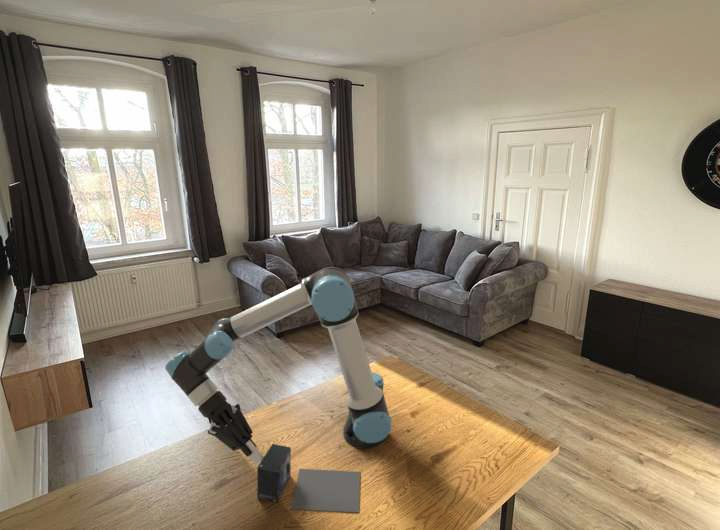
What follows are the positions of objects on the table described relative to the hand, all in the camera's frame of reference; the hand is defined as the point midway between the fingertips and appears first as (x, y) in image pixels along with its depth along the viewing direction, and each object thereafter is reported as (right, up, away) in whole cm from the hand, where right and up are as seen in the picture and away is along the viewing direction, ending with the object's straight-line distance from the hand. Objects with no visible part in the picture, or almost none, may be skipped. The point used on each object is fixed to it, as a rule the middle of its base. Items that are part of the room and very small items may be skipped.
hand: (259, 460), depth 113 cm
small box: (+4, -9, +2) cm, 10 cm away
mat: (+20, -9, +1) cm, 22 cm away
